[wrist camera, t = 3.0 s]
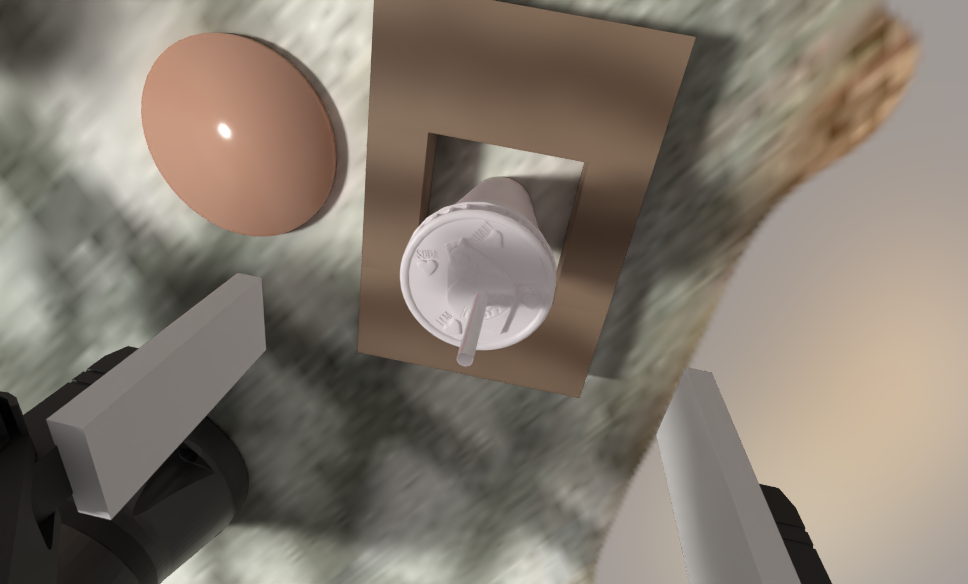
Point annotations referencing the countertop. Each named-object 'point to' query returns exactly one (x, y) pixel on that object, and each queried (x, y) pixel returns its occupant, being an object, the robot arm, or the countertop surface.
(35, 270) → the countertop surface
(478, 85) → the frame
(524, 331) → the smoothie
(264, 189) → the glossy peach dome
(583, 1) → the countertop surface
